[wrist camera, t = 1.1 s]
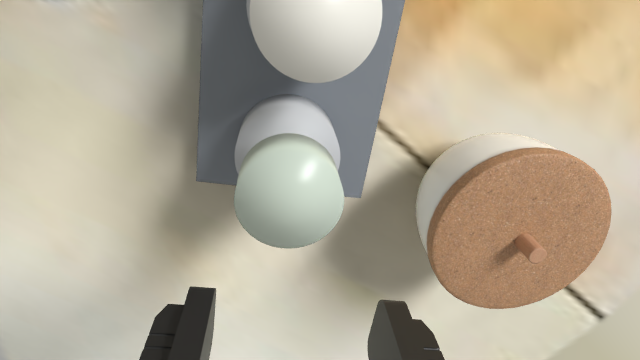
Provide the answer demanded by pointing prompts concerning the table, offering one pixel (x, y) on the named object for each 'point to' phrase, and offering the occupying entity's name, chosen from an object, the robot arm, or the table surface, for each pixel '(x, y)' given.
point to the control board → (260, 78)
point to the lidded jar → (510, 219)
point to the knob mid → (315, 35)
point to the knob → (288, 191)
